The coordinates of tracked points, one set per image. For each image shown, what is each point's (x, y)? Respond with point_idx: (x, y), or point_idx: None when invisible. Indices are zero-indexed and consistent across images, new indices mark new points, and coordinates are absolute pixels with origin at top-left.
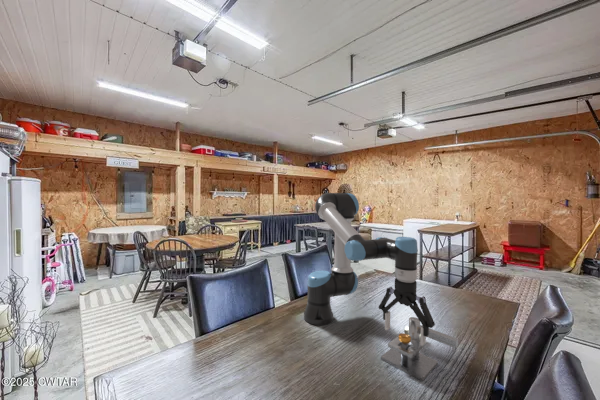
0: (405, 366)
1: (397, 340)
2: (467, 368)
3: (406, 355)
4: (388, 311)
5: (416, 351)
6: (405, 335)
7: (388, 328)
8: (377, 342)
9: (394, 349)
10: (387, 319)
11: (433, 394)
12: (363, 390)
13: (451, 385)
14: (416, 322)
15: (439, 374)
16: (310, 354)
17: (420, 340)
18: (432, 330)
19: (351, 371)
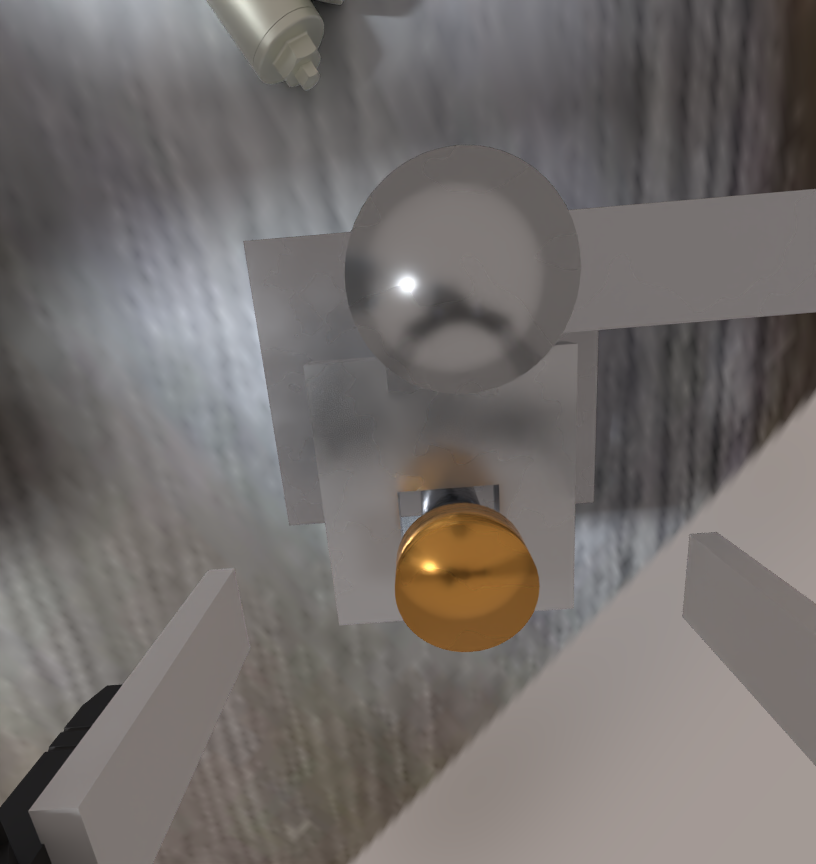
0: None
1: (358, 507)
2: (787, 59)
3: None
4: (46, 830)
5: (572, 517)
6: (463, 567)
7: (238, 608)
8: (127, 355)
9: None
10: (182, 761)
11: (668, 542)
12: (407, 773)
13: (730, 383)
14: (542, 355)
15: (639, 337)
16: None
17: (719, 657)
18: (776, 235)
19: (274, 727)
